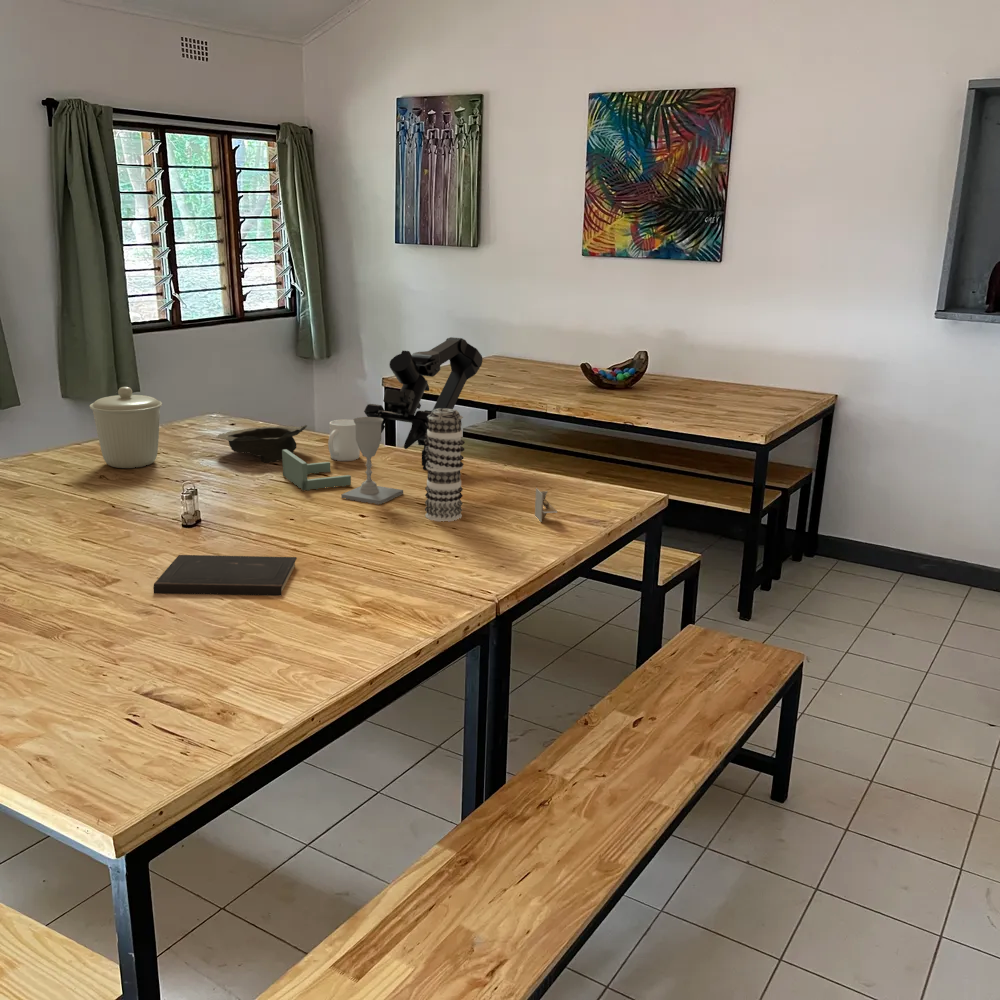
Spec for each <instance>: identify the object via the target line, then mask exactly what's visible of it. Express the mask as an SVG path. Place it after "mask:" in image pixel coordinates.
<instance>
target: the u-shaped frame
mask: <svg viewBox="0 0 1000 1000" xmlns="http://www.w3.org/2000/svg"><path fill="white" fill-rule="evenodd" d="M281 462H282V476H283V477H284V476H285V477H286V479H287V480H290V481H289V482H291V483H292V482H293V483H294V484H293V483H292V484H293V485H295V486H296V485H297V486H298V487H297V486H296V487H297V488H299V489H300V488H301V489H302V490H303V492H305V491H304V490H307V491H311V490H310V489H316V490H319V489H318V488H325V487H326V488H325V489H328V488H327V487H333V488H337V487H336V486H342V487H347V486H346V485H351V486H352V475H350V474H345V475H337V476H328V477H318V478H310V479H309V478H308V475H311V474H310V473H314V474H320V473H319V472H324V473H331V472H332V471H331V462H330V461H323V462H322V461H321V462H313V463H307V462H306V461H304V460H303V459H302V458H300V457H299V456H297V455H295V454H294V453H291V452H290V451H288V450H287V449H285V450H282V460H281ZM285 477H284V478H285ZM334 486H335V487H334ZM301 489H300V490H301ZM302 490H301V491H302Z"/></svg>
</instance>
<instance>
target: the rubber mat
mask: <svg viewBox="0 0 1000 1000" xmlns="http://www.w3.org/2000/svg"><path fill="white" fill-rule="evenodd" d="M360 487H361V485H360V486H357V487H355V488H353V489H351V490H348V491H346V492H344V493H341V496H340V497H341V498H340V499H342V498H346V499H345V500H348V499H350V501H354V500H355V502H360V501H361V503H366V502H368V503H367V504H372V503H375V504H374V505H379V504H381V505H382V503H383V504H384V502H385V503H388V502H389V501H391V500H393V498H394V499H396V498H398V497H400V496H402V495H404V490H403V489H399V488H394V487H393V488H392V487H386V486H381V485H377V487H378V489H379V492H378V493H375V494H363V493H360V492H359V490H360ZM395 497H396V498H395Z"/></svg>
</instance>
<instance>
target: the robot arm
mask: <svg viewBox="0 0 1000 1000" xmlns="http://www.w3.org/2000/svg"><path fill="white" fill-rule="evenodd" d="M448 361H449V364H450V369H451V370H450V373H449V376H448V377H447V379H446V382H445V383H444V386H443V388H442V390H441V392H440V393H439V396H438V398H437V400H436V401H435V404H434V406H433V408H432V410H426V409H425V410H417V409H421V406H422V404H421V400H422V397H423V395H424V393H425V392H426V391H427V392H429V391H430V386H429V383H428V380H427V379H426V378H425V377H432V378H433V377H435V376H436V375H437V374H438V373H439V372H440V371H441V366H442V365H443V364H445V363H447V362H448ZM482 364H483V356H482V353H480V351H479V350H478V349H477V348H476V347H474V346H473V345H471V344H470V343H469V342H467V340H466V339H464V338H463V337H462V338H461V337H454V336H453V337H452V336H451V337H447V338H446V339H445V340H444V341H443V342H442V343H440V344H438V345H436V346H435V347H433V348H432V349H431V348H430V349H429V350H427V351H425V350H424V351H418V352H417V351H416V352H413V353H411V352H410V351H409V350H402V351H401V353H399V354H396V355H394V357H393V358H391V359H390V361H389V368H390V370H391V371H392V373H393V375H394V376H395V379H396V380H397V381H398V383H400V384H401V388H400V390H396V389H389V388H386V389H385V392H384V394H383V395H384V396H383V402H384V403H387V404H388V405H387V407H388V408H389V410H391V411H387V410H385V408H384V407H383V405H382V404H374V403H368V404H367V405H366V406H365V408H364V411H363V412H364V414H365V415H366V417H378V418H382V419H383V422H382V424H381V434H382V433H383V431H384V430H385V429H386V425H385V424H386V423H387V422H388V420H391V421H397V422H404V423H410V424H411V428H410V430H409V432H408V435H407V437H406V439H405V441H404V445H403V448H404V450H408V449H409V448H410V447H411V446H412V445H413V444H414V443H416V442H417V444H418V446H423V449H421V466H422V469H423V470H428V469H427V468H426V465H425V464H426V462H427V461H428V460H426V458H425V455H426V451H425V448H426V446H427V445H426V444H425V442H424V440H425V438H426V437H425V436H424V435H426V434H425V433H427V429H428V417H427V416H428V415H430V414H431V412H432V411H433V410H435V409H440V408H450V409H454V408H455V405H456V404H457V401H458V399H459V398H460V395H461V393H462V391H463V389H464V386H465V384H466V382H467V380H469V379H471V378H473V376H475V375H476V374H477V373H478V371H479V369H480V368H481V367H482ZM428 442H429V440H428Z"/></svg>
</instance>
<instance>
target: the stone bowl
mask: <svg viewBox="0 0 1000 1000" xmlns="http://www.w3.org/2000/svg"><path fill="white" fill-rule="evenodd" d="M307 427H308V425H307V424H305V425H301V426H299V427H298V426H288V425H287V426H286V425H285V426H284V425H279V426H272V425H271V426H260V427H251V428H243V429H237V430H231V431H228V432H226V433H225V432H224V433H220V434H218V435H217V436H216V437H215V438H217V439H221V440H225V441H228V445H229V447H230V449H231V450H232V451H233V452H236V453H242V454H243V453H244V454H251V455H252V456H260V460H261V462H262V463H265V464H268V463H269V462H270V463H275V462H277V461H278V462H279V461H282V450H285V449H287V450H288V451H290V452H291V453H293V454H294V451H295V450H296V449H297V443H296V440H295V438H294V437H296V436H297V435H299V434H301V432H303V431H304V430H305V429H307Z"/></svg>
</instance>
